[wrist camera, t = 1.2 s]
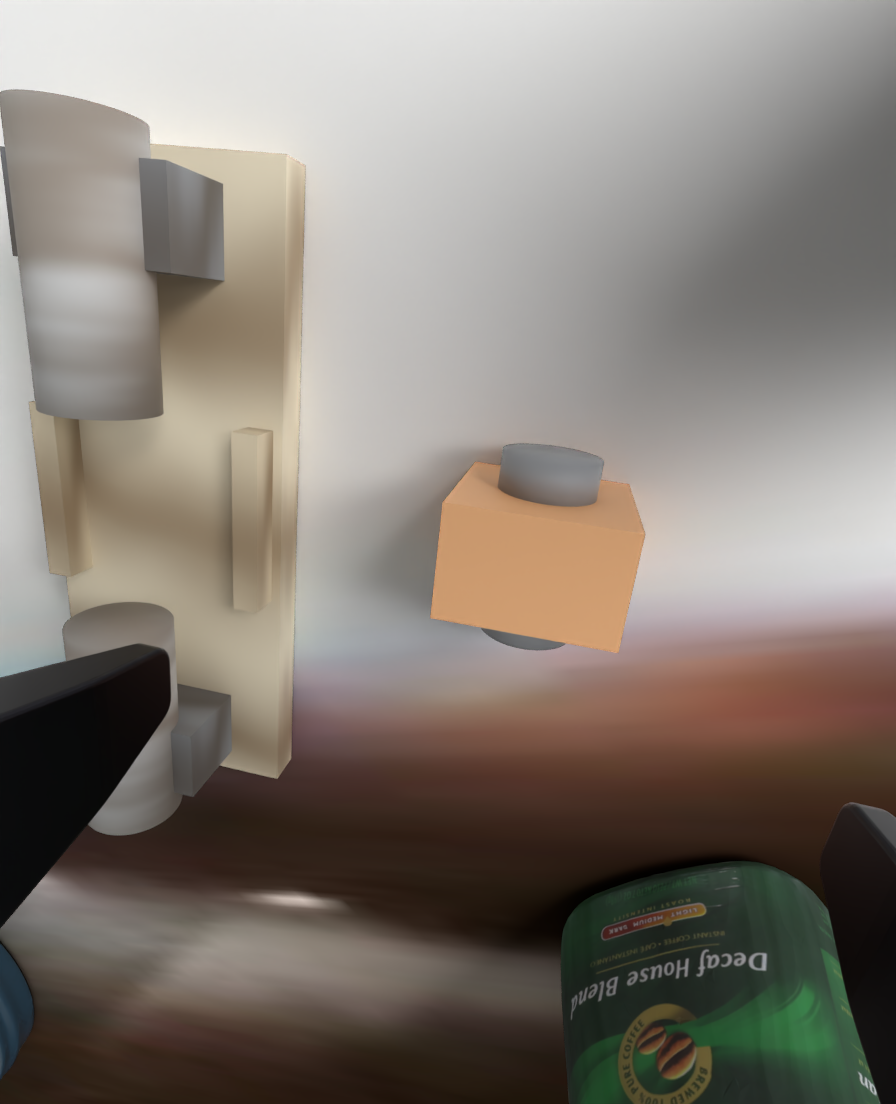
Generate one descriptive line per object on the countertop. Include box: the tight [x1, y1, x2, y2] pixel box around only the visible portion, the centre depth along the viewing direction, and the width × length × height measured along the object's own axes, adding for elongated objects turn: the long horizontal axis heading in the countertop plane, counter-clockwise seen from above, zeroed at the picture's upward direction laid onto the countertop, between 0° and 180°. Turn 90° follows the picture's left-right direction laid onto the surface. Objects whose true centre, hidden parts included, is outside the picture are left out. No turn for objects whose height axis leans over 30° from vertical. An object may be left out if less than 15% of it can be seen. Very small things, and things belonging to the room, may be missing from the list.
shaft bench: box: [0, 90, 305, 835], centre depth 19 cm, size 20×8×5 cm, turn 173°
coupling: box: [430, 444, 645, 653], centre depth 17 cm, size 5×5×5 cm
